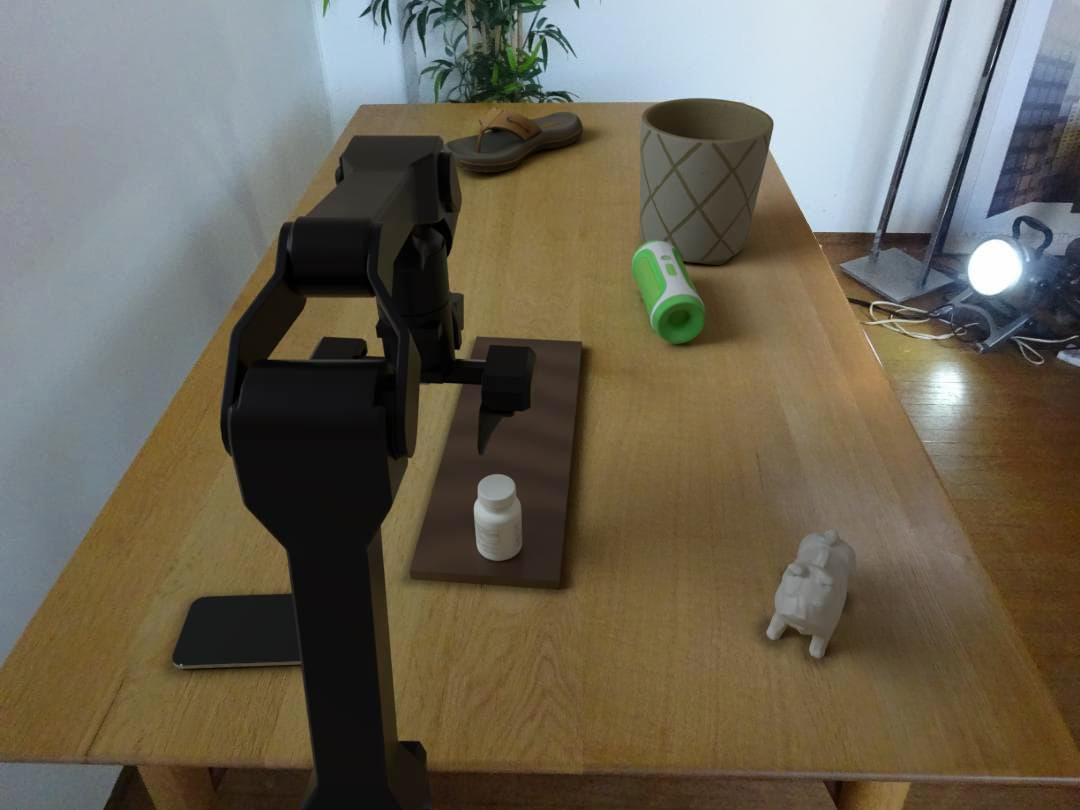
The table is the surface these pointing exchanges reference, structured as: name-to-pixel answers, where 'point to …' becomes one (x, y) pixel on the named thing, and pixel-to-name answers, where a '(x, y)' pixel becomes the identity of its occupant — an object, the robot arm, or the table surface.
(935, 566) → the table surface
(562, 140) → the sandal
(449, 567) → the shelf board
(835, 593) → the dog figurine
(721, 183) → the planter
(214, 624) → the smartphone
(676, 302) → the speaker
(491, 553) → the pill bottle
